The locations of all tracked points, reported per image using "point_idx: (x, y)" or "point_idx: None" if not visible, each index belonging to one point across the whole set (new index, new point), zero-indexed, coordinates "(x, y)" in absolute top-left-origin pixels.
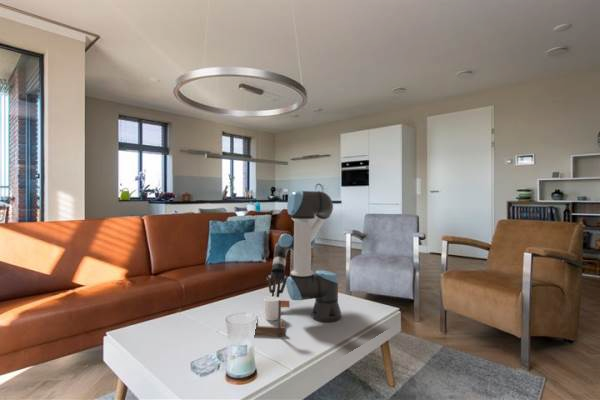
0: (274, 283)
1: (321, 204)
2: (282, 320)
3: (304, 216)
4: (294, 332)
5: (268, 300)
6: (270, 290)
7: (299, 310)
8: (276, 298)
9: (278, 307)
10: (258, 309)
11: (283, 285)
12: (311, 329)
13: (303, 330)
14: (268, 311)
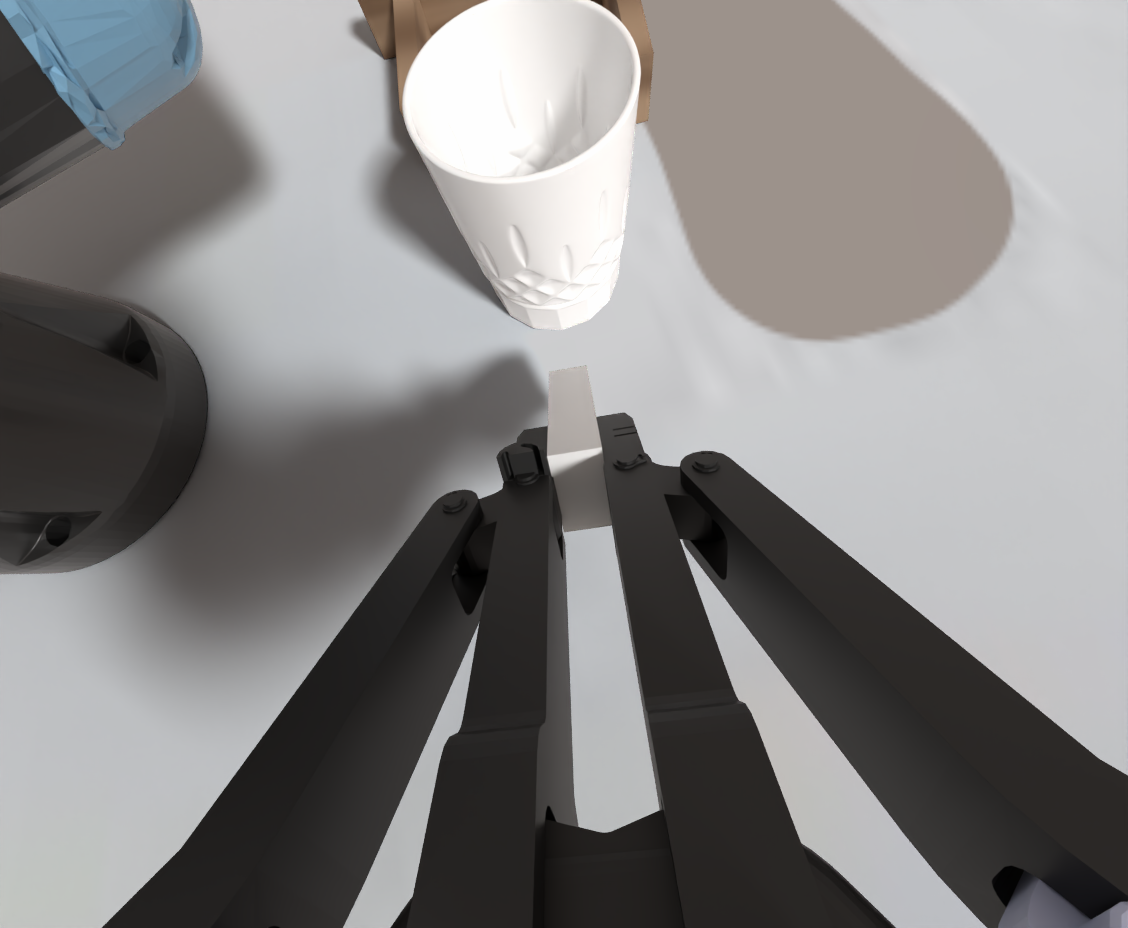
0: (658, 607)
1: None
2: (398, 82)
3: None
4: (330, 105)
5: (601, 180)
6: (694, 458)
7: (331, 532)
8: (478, 189)
9: None
10: (783, 455)
11: (379, 597)
12: (219, 177)
13: (272, 148)
14: (559, 138)
